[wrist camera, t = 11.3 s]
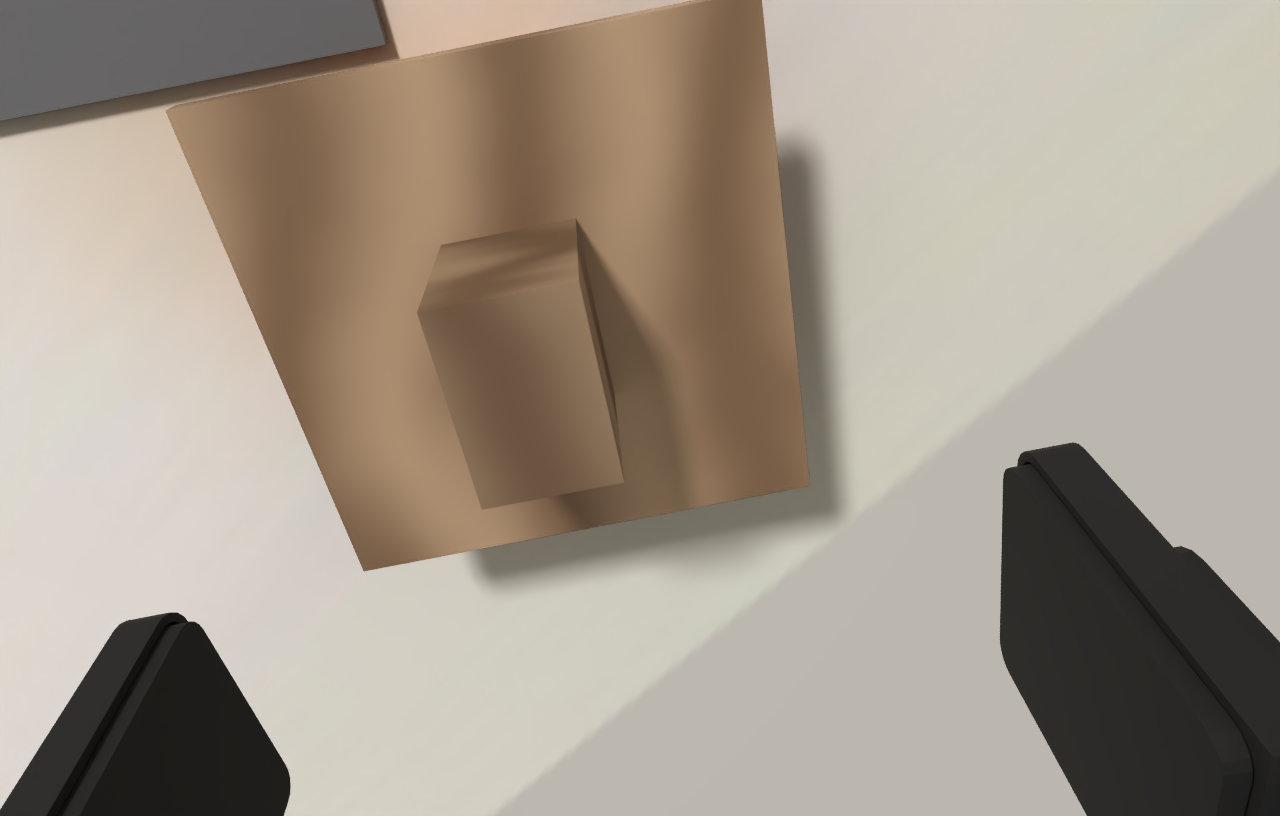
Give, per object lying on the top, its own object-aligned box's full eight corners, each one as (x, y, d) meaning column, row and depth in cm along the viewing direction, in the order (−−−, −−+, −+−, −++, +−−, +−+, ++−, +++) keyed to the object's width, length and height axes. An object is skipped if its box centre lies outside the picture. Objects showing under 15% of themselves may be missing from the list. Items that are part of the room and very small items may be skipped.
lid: (754, -12, 24) (807, 8, 19) (804, 473, 32) (850, 579, 27) (176, 104, 24) (75, 156, 19) (368, 556, 32) (332, 677, 27)
